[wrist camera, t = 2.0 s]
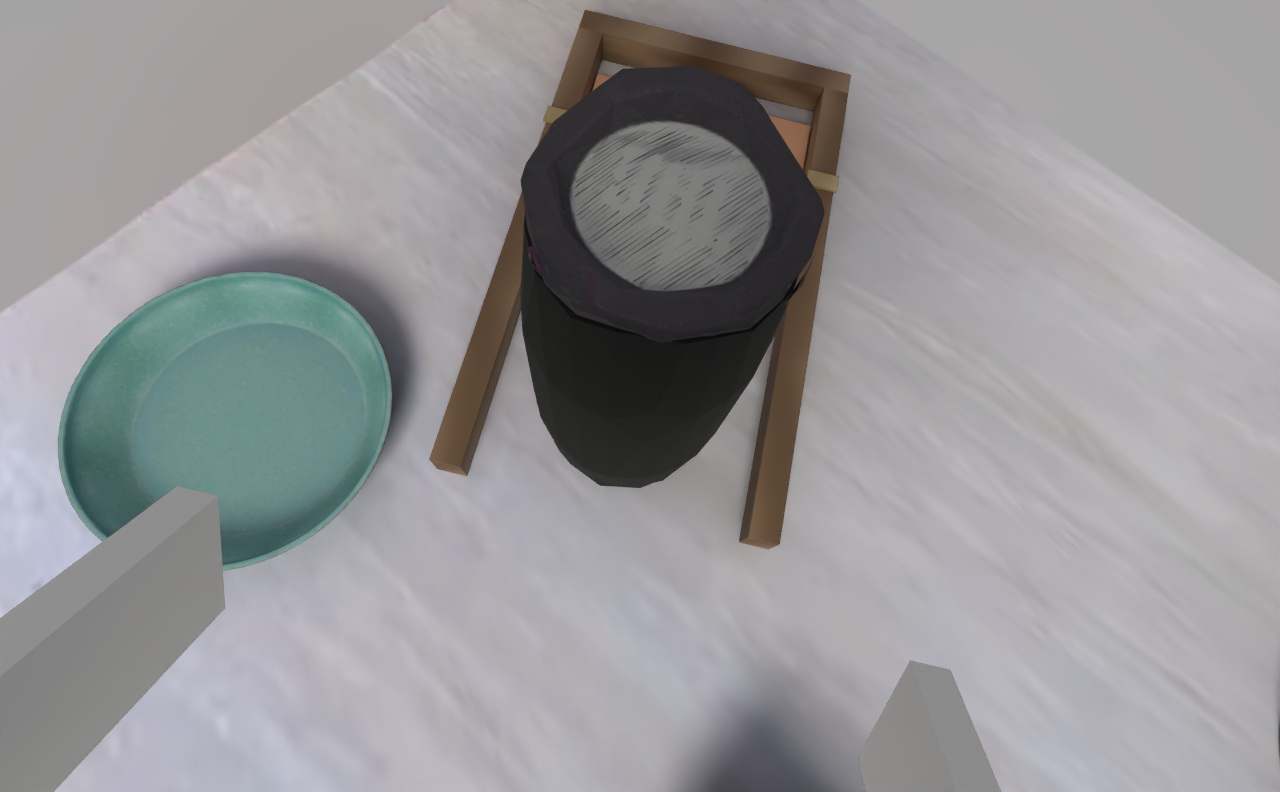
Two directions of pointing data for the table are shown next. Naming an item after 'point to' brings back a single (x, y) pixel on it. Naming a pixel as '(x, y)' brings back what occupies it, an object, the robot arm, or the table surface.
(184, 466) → the saucer
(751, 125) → the portable speaker
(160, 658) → the robot arm
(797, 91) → the rail track
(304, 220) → the table surface
